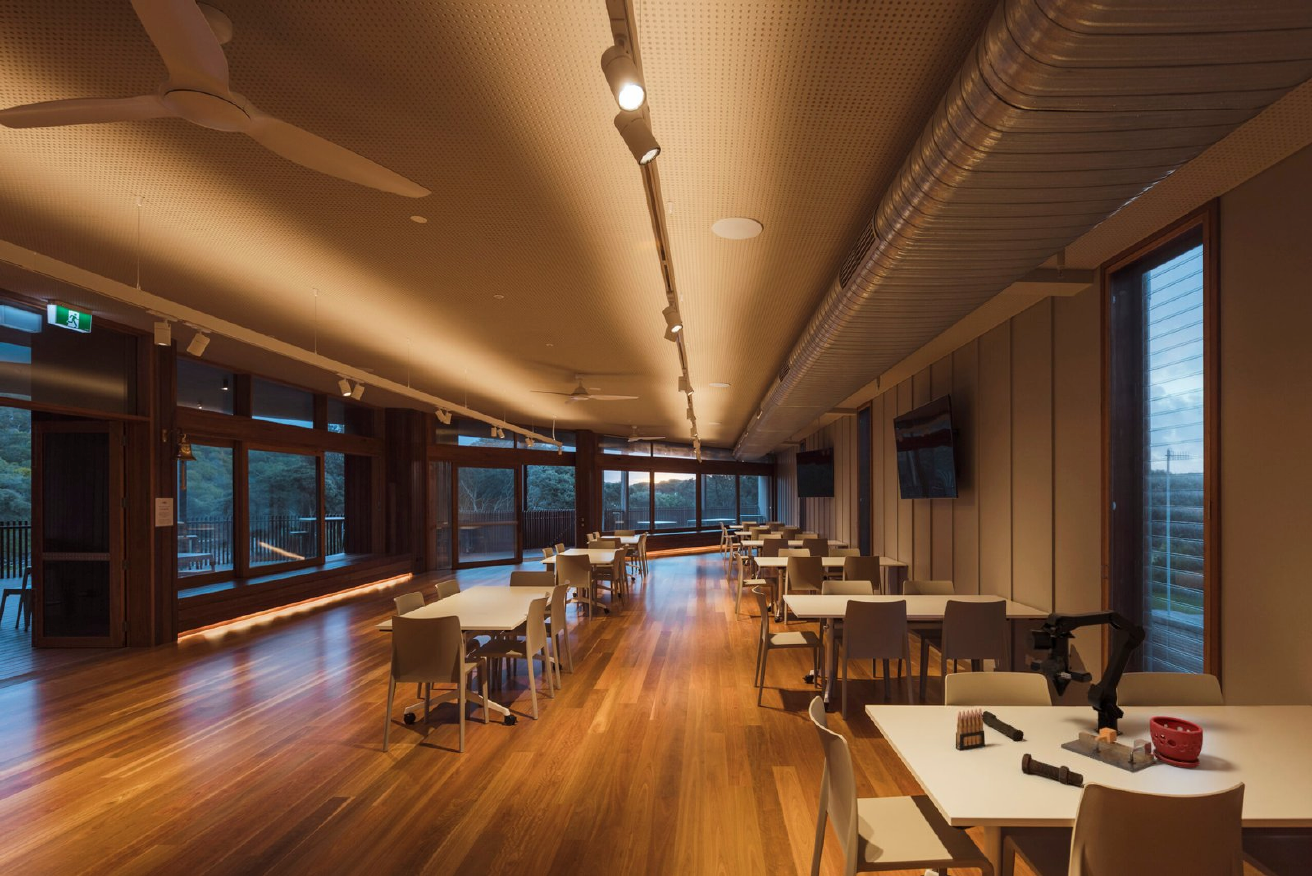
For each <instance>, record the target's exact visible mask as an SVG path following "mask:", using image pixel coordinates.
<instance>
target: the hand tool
mask: <svg viewBox="0 0 1312 876" xmlns="http://www.w3.org/2000/svg"><path fill="white" fill-rule="evenodd" d="M982 720H983V724H984V725H986V726H987V727H989V728H993V729H995V730H997V731H999V732H1001V733H1002V734H1004V735H1006V736H1008V737H1009V738H1010V739H1012V741H1013V742H1023V740H1024V731H1022V730H1021V729H1018V728H1015V727H1014V726H1012V725H1010V724H1007V723H1006V722H1004V721H1002V720H1001V719H998V717H997V715H995V714H993V713H992V712H990V711H987V710H985V711H982Z"/></svg>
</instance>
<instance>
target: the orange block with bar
mask: <svg viewBox="0 0 1312 876" xmlns="http://www.w3.org/2000/svg"><path fill="white" fill-rule="evenodd" d="M1117 736H1118V735H1117ZM1117 736H1116V730H1113V729H1110V728H1103V729H1100V732H1099V736H1098V737H1096V738H1095V741H1096V750H1099V741H1106V742H1109V743H1111V742H1117Z"/></svg>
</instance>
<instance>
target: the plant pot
mask: <svg viewBox="0 0 1312 876" xmlns="http://www.w3.org/2000/svg"><path fill="white" fill-rule="evenodd" d="M1166 726H1167V727H1166ZM1178 728H1181V729H1182V730H1179V729H1178ZM1149 733H1150V737H1151V741H1152V742H1151V743H1152V745H1153V746H1154V748H1153V750H1152V754H1154V758H1157V759H1156V760H1159V761H1160V762H1162V763H1165V764H1167V765H1170V766H1174V767H1177V768H1186V769H1193V768H1196V767H1198V766H1199V765H1200V763H1201V761H1200V759H1199V756H1200V754H1201V752H1202V748H1203V745H1204V743H1203V742H1204V741H1203V740H1204V731H1203V728H1202V727H1201V726H1200V725H1199V724H1197V723H1194V722H1193V721H1192V722H1191V721H1189V720H1186V719H1181V718H1178V717H1173V716H1165V715H1163V716H1161V715H1158V716H1152V717H1150V719H1149Z"/></svg>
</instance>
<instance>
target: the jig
mask: <svg viewBox="0 0 1312 876" xmlns="http://www.w3.org/2000/svg"><path fill="white" fill-rule="evenodd" d="M1096 737H1099V736H1097V735H1094V734H1092V733H1087V732H1086V731H1085V732H1084V731H1081V732H1078V739H1075V740H1072V741H1068V742H1064V743H1062V744H1061V743H1060V744H1061V745H1060V749H1063V750H1066V751H1070V752H1073V753H1076V754H1079V755H1081V756H1083V757H1087V758H1089V757H1090V759H1092V760H1095V761H1098V762H1101V761H1102V762H1101V763H1104V764H1108V765H1110V766H1113V767H1116V768H1119V769H1122V770H1125V771H1127V772H1131V773H1135V772H1138V771H1140V770H1144V769H1146V768H1149V767H1151V766H1154V765H1156V764H1157V759H1155V756H1154V754H1153V750H1152V742H1151V741H1149V740H1145V739H1142V738H1139V739H1136V740H1133V747H1132V746H1129V745H1125V744H1122V743H1120V742H1117V741H1114V742H1111V743H1109V742H1106V741H1099V750H1096V741H1095V738H1096Z"/></svg>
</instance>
